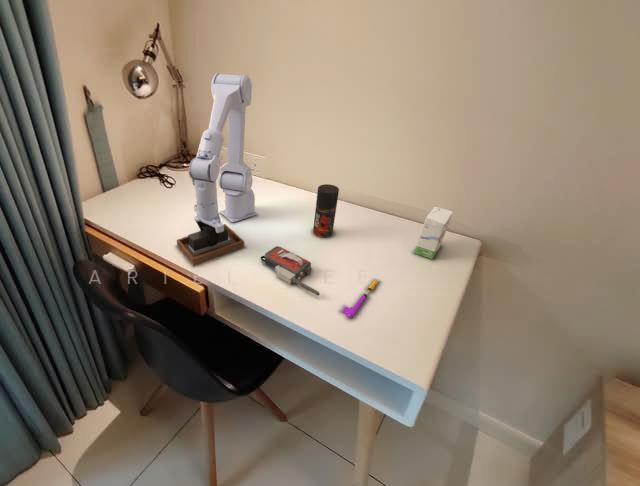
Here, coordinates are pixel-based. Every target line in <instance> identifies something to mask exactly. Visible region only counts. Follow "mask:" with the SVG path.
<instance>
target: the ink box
mask: <svg viewBox="0 0 640 486" xmlns="http://www.w3.org/2000/svg"><path fill="white" fill-rule="evenodd" d="M453 214H454V212H453V211H452V210H448V209H446V208H443V207H439V206H434V207H433V208H432V209H431V210H430V212H429V213H428V214H427V215H426V217H425V220H424V223H423V224H422V229H421V231H420V235H419V237H418V238H419V239H418V241H417V245H416V247H415V251H414V254H416V255H417V256H422V257H424V258H427V259H430V260H433V259H434V257H435V256H436V254H437V252H438V251H439V250H440V247H442V243H443V240H444V238H445V235H446V232H447V229H448V227H449V224H450V221H451V219H452V217H453Z"/></svg>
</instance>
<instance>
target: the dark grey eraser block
mask: <svg viewBox="0 0 640 486" xmlns="http://www.w3.org/2000/svg"><path fill="white" fill-rule="evenodd" d="M187 236H188V237H189V249H190V251H191V252H192V253H193V254H194V255H197V254H200V253H203V252H206V251H208V250H211V249H214V248H217V247H220V246H222V245H225V244H228V243H231V239H230V238H229V237H228V229H227V228H226V227H225V226H224V231H222V232H220V234H219V237H218V242H217V245H214V246H210V245H209V242H208V238H207V235H206V232H205V231H204V230H202V231H200V230H199V231H196V232H193V233H190V234H188V235H187Z"/></svg>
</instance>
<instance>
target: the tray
mask: <svg viewBox="0 0 640 486" xmlns="http://www.w3.org/2000/svg"><path fill="white" fill-rule="evenodd" d="M223 225H224V226H225V227H226V228H227V229H228V237H229V238H230V239H231V243H228V244H225V245H222V246H220V247H217V248H214V249H211V250H208V251H206V252H203V253H200V254H197V255H194V254H193V253H192V252H191V251H190V249H189V237H188V235H187V236H183V237H181V238H178V239H176V246H177V247H178V248H179V250H180V251H181V253H182V254H183V256H184V257H186V259H187V260H188V261H189V262H190V264H191V265H192V266H193V267H196V266H199V265H201V264H205V263H206V262H209V261H211V260H215V259H218V258H220V257H223V256H225V255H227V254H231V253H233V252H237V251H239V250H241V249H245V241H244V239H242V238H241V237H240V236H239V235H238V234H237V233H236V232H235V231H234V230H233V229H232V228H230V227H229V226H228V225H227V224H226V223H224V224H223Z"/></svg>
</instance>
